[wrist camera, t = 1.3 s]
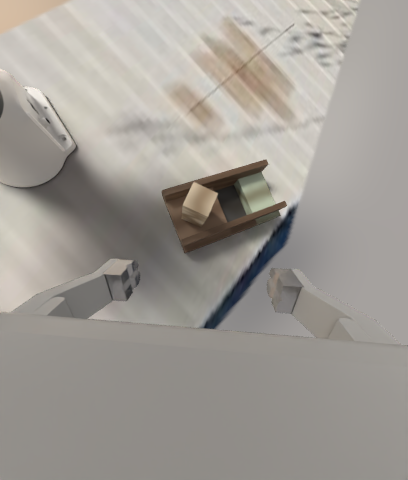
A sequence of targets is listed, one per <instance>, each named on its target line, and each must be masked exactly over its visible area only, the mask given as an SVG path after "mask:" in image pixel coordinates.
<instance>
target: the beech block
mask: <svg viewBox="0 0 408 480" xmlns="http://www.w3.org/2000/svg"><path fill="white" fill-rule="evenodd" d="M217 195H218V193H216V192H214V191H212V190H210V189H208V188H206V187H204V186H202V185H199V184H197V183H195V182H193V184H192V186H191V188H190V190H189V193H188V195H187V197H186V199H185V201H184V203H183V206H182V219H183V220H186V221H188V222H190V223H192V224H194V225H197V226H199V227H202V225H203V224H204V222H205V221H206V219H207V218H208V216H209V213H210V211H211V209H212V207H213V204H214V202H215V200H216V197H217Z"/></svg>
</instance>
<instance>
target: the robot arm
mask: <svg viewBox="0 0 408 480" xmlns="http://www.w3.org/2000/svg"><path fill="white" fill-rule="evenodd" d="M75 147H76V145H75V143H74V141H73V139H72V138H71V136H70V135H69V133H68V131H67V130H66V128H65V127H64V125H63V123H62V122H61V120H60V119H59V117H58V115H57V114H56V112H55V111H54V109H53V108H52V106H51V104H50V103H49V101H48V100H47V98H46V96H45V95H44V94H43V93H42V92H41V91H40V90H39V89H36V88H33V87H28V86H22V85H21V84H20V83H19V82H18V81H17V80H16V79H15V78H14V77H13V76H12V75H11V74H10V73H8V72H6V71H4V70H2V69H0V182H1V183H4V184H6V185H9V186H14V187H32V186H37V185H40V184H43V183H45V182H47V181H49V180H50V179H52V178H53V177H54V176H55V175H56V174H57V173H58V172H59V171H60V170H61V168H62V166H63V164H64V162H65V159H66V157H67V156H68V155H69V154H70V153H71V152H72V151H73V150H74V149H75ZM137 267H138V263H137V261H136V260H127V259H110V260H108V261H107V262H106V263H105V264H104V265H102V266H101V267H100V268H99V269H98V270H96V271H95V272H94V273H93V274H88V275H85V276H82V277H80V278H77V279H75V280H72V281H70V282H67V283H64V284H62V285H59V286H57V287H54V288H51V289H49V290H46V291H44V292H41V293H39V294H36V295H35V296H33V297H32V298H30V299H29V300H28V301H26V302H25V303H23V304H22V305H20V306H19V307H18V308H16V309H15V310H13V311H12V312H0V480H408V345H401V344H400V343H399V342H398V341H397V340H396V339H395V338H394V337H393V336H392V335H391V334H390V333H389V332H388V331H387V330H386V329H384V328H383V327H382V326H381V325H380V324H379V323H378V322H377V321H376V320H375V319H373V318H371V317H369V316H367V315H366V314H363V313H362V312H360V311H358V310H356V309H355V308H353V307H351V306H349V305H347V304H346V303H344V302H342V301H340V300H338V299H337V298H335V297H333V296H331V295H329V294H327V293H326V292H324V291H322V290H320V289H318V288H315V287H314V286H313V285H312V284H311V282H310V281H309V280H308V279H307V278H306V276H305V275H304V274H303V273H302V272H301V270H299V269H275V268H272V269H271V270H270V273H269V274H270V277H271V278H270V279H269V280H268V282H267V292H268V295H269V297H270V298H272V305H273V307H274V309H275V312H279V313H290V314H292V315H293V316H294V317H295V318H296V319H297V320H298V321H299V322H300V323H301V324H302V325H303V326H304V327H305V328H306V329H308V330H309V331H310V332H311V333H312V334H313V335H314V336H315V337H316V338H312V337H299V336H286V335H274V334H263V333H251V332H239V331H227V330H216V329H203V328H191V327H179V326H167V325H155V324H143V323H131V322H119V321H107V320H95V319H87V318H89V317H90V316H92V315H93V314H94V313H96V312H97V311H99V310H100V309H102V308H103V307H105V306H106V305H107V304H109V303H110V302H112V300H116V301H127V300H128V299H129V297H130V296H131V294H132V293H133V291H132V289H134V288H136V287H137V285H138V284H139V281H140V272H139V271H138V270H137Z"/></svg>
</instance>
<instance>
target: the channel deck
mask: <svg viewBox="0 0 408 480" xmlns="http://www.w3.org/2000/svg"><path fill="white" fill-rule="evenodd" d="M267 165H268V162H267V160H263V161H259V162H256V163H252V164H249V165H246V166H242V167H239V168H236V169H232V170H229V171H225V172H222V173H219V174H215V175H212V176H209V177H205V178H202V179H198V180H195V181H192V182H188V183H185V184H182V185H178V186H175V187H171V188H168V189H165V190H162V196H163V199H164V201H165V204H166V206H167V209H168V211H169V214H170V217H171V219H172V222H173V224H174V227H175V229H176V232H177V235H178V237H179V240H180V242H181V245H182V247H183V250H184V253H187V252H190V251H193V250H195V249H198V248H200V247H203V246H205V245H208V244H210V243H213V242H215V241H218V240H221V239H223V238H226V237H228V236H231V235H233V234H236V233H238V232H241V231H243V230H246V229H248V228H251V227H254V226H256V225H259V224H261V223H264V222H266V221H269V220H271V219H274V218H276V217H278V216H280V213H279V211H278V210H280V209H282V208H284V207H286V206H287V205H286V202H285V201H283V202H281V203H278V204H275V202H274V199H273V197H272V195H271V192H270V190H269V188H268V186H267V183H266V181H265V179H264V177H263V174H262V171H263V170H264V168H265V167H266V166H267ZM193 182H195V183H197V184H199V185H202V186H204V187H206V188H208V189H210V190H212V191H214V192H216V193H218V195H217V197H216V200H215V202H214V204H213V207H212V209H211V211H210V213H209V216H208V218H207V219H206V221H205V222H204V224H203V225H202V227H199V226H197V225H194V224H192V223H190V222H188V221H186V220H183V219H182V206H183V203H184V201H185V199H186V197H187V195H188V193H189V190H190V188H191V186H192V184H193Z"/></svg>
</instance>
